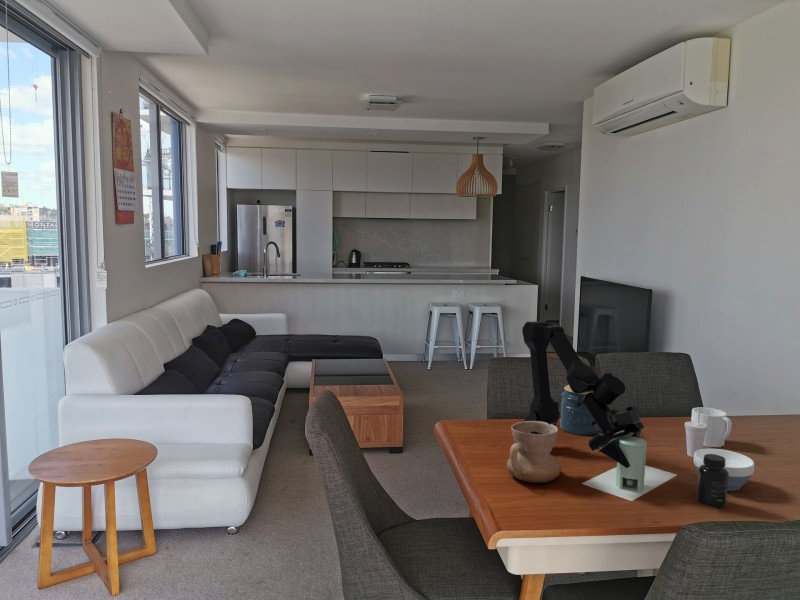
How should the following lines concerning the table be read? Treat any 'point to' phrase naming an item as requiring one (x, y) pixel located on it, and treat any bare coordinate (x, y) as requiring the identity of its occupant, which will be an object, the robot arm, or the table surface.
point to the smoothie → (695, 435)
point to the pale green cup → (632, 461)
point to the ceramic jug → (533, 452)
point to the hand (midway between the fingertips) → (636, 464)
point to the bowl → (730, 466)
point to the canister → (575, 414)
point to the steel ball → (629, 482)
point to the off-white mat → (608, 485)
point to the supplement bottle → (712, 481)
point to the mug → (713, 425)
